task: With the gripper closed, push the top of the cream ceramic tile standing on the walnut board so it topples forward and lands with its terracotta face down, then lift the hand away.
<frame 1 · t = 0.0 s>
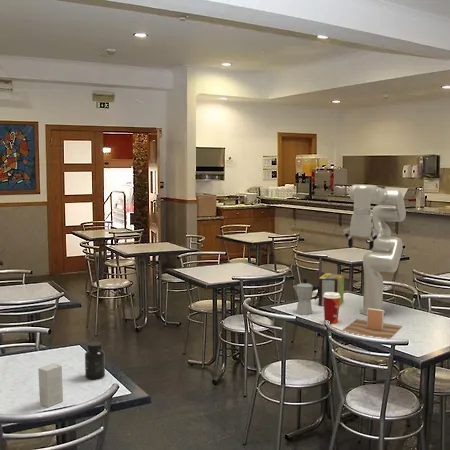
hand: (360, 248, 266), 37 cm above the table, tool pointing down, fingers open, 9 cm apart
protein box: (330, 304, 309), on the table
supplement bottle: (95, 376, 202), on the table
skincare box: (51, 403, 179), on the table
coffee maker: (306, 313, 290), on the table
board: (371, 331, 258), on the table
coffee cup: (331, 324, 269), on the table
tile: (374, 328, 259), point 1 cm above the table, touching board
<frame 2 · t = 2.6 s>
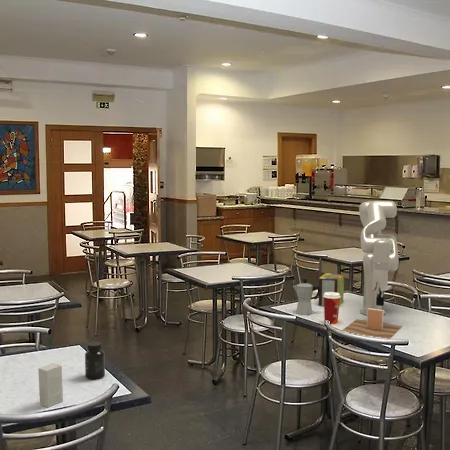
hand: (379, 305, 263), 11 cm above the table, tool pointing down, fingers closed
nothing on the table moved.
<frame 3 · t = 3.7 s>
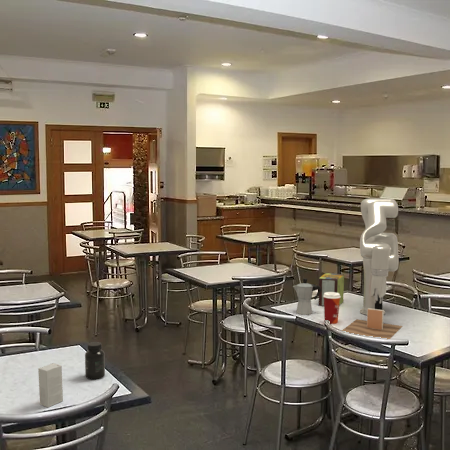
hand: (378, 311, 262), 8 cm above the table, tool pointing down, fingers closed
nothing on the table moved.
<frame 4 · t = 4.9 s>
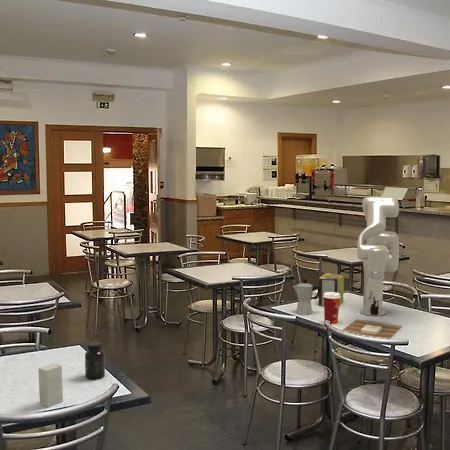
hand: (374, 314, 256), 8 cm above the table, tool pointing down, fingers closed
tile: (374, 327, 258), point 2 cm above the table, tilted 90°, touching board
everything else where it was.
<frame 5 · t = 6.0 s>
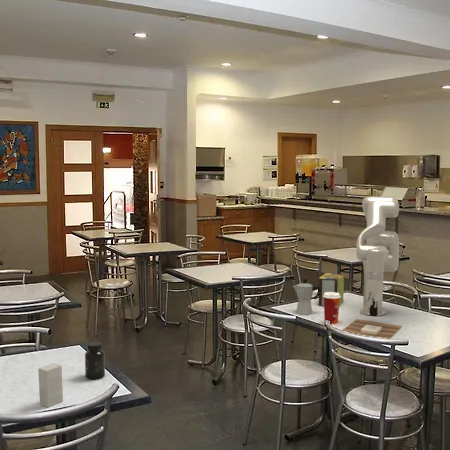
hand: (373, 315, 255), 8 cm above the table, tool pointing down, fingers closed
nothing on the table moved.
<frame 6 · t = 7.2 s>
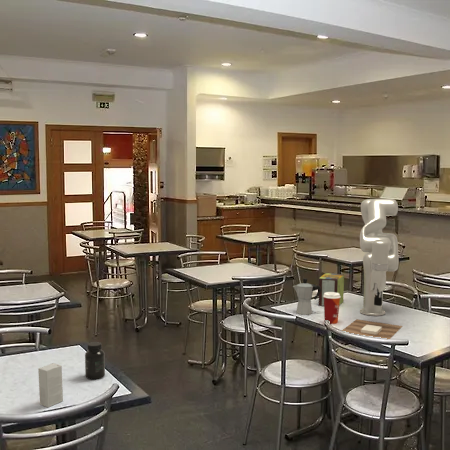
hand: (377, 305, 262), 11 cm above the table, tool pointing down, fingers closed
nothing on the table moved.
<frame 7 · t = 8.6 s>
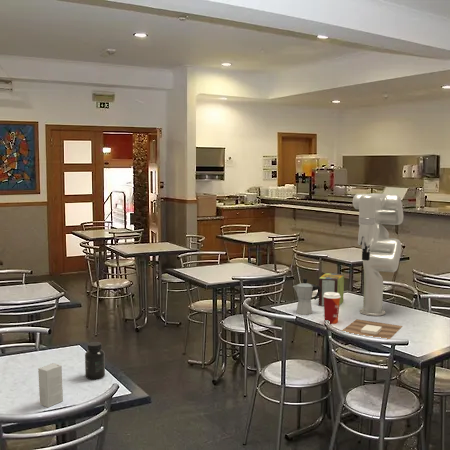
hand: (365, 259, 267), 31 cm above the table, tool pointing down, fingers closed
nothing on the table moved.
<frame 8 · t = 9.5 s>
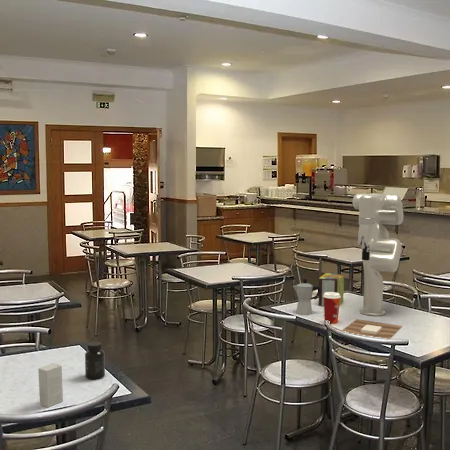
hand: (365, 259, 267), 31 cm above the table, tool pointing down, fingers closed
nothing on the table moved.
at the end: tile tilted 90°; tile inside the target area on the board (1.2 cm from its centre), point 2.0 cm above the board's base; tile touching board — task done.
